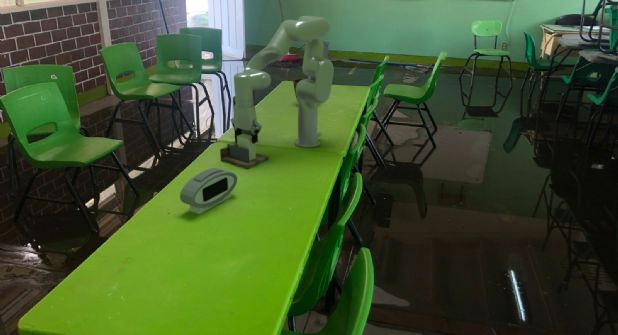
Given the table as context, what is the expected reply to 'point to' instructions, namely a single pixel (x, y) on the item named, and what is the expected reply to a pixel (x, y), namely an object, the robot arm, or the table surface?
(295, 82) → the plant pot
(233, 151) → the shelf
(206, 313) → the table surface
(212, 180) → the alarm clock
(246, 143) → the plain rectangular box
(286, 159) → the table surface
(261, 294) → the table surface
